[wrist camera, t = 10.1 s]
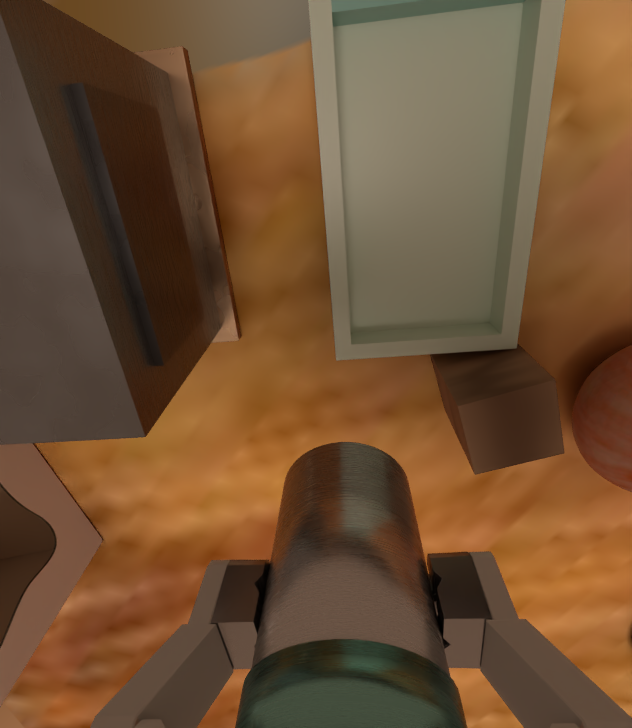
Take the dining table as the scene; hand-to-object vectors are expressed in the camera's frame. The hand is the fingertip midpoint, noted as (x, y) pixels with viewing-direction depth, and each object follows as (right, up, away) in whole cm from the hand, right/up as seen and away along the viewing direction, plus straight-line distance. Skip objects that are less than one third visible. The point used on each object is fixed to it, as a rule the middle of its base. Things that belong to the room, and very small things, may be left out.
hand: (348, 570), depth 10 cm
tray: (+5, +15, +13) cm, 21 cm away
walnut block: (+10, +5, +18) cm, 21 cm away
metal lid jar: (0, +1, +2) cm, 3 cm away
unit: (-13, +14, +14) cm, 24 cm away
